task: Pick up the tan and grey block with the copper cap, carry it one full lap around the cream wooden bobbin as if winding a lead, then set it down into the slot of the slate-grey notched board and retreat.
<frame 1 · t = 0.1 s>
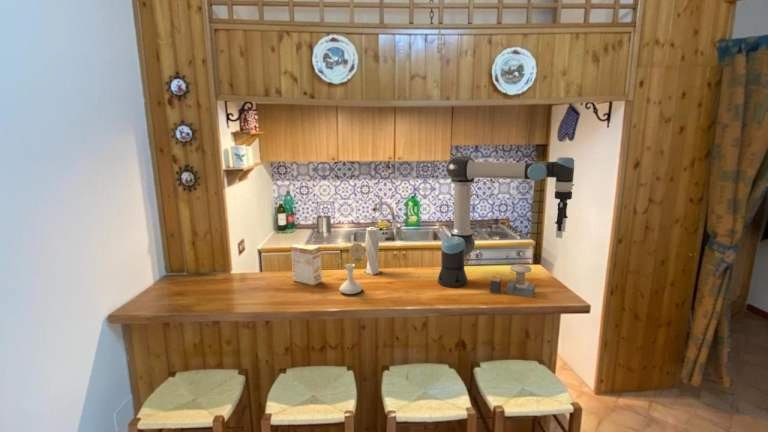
hand: (560, 234, 198), 28 cm above the countertop, fingers open, 13 cm apart
skyscraper: (373, 273, 232), on the countertop
tan and grey block: (495, 291, 201), on the countertop
notch board: (520, 292, 200), on the countertop
bobbin: (519, 285, 209), on the countertop
flower in vase: (352, 292, 204), on the countertop
coffeecake box: (307, 281, 220), on the countertop
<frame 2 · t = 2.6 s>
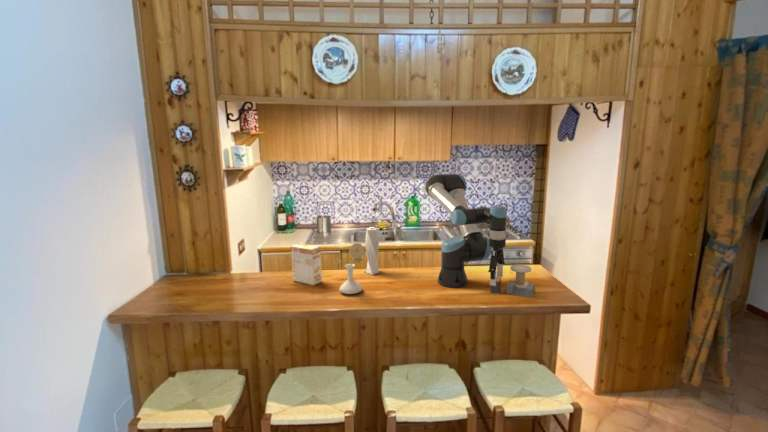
hand: (496, 281, 200), 6 cm above the countertop, fingers open, 13 cm apart
nothing on the countertop moved.
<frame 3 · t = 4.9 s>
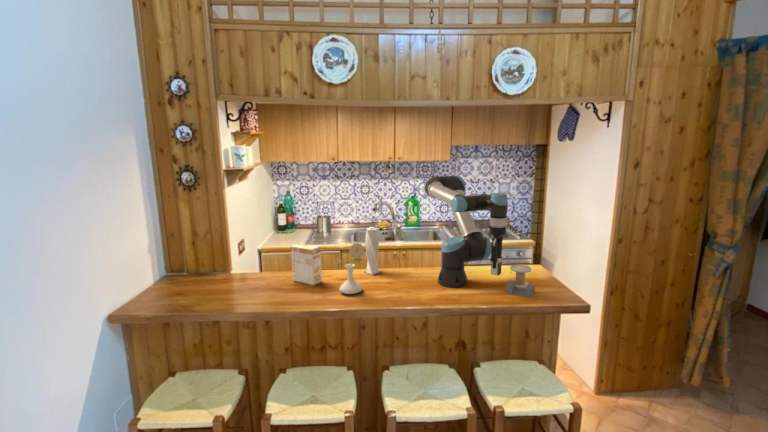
hand: (495, 272, 200), 10 cm above the countertop, fingers closed on tan and grey block, 4 cm apart
tan and grey block: (496, 273, 200), point 9 cm above the countertop, touching gripper
everything else where it was.
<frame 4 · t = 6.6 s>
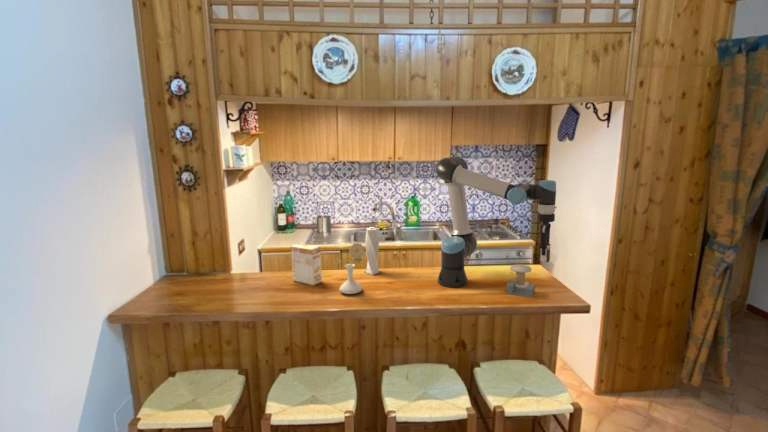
hand: (544, 260, 200), 15 cm above the countertop, fingers closed on tan and grey block, 4 cm apart
tan and grey block: (544, 260, 200), point 15 cm above the countertop, touching gripper
everything else where it was.
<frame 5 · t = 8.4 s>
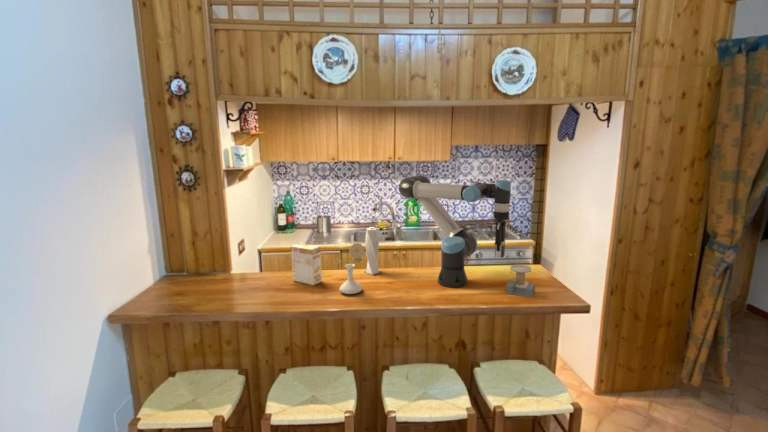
hand: (499, 255, 212), 14 cm above the countertop, fingers closed on tan and grey block, 4 cm apart
tan and grey block: (499, 256, 212), point 14 cm above the countertop, touching gripper
everything else where it was.
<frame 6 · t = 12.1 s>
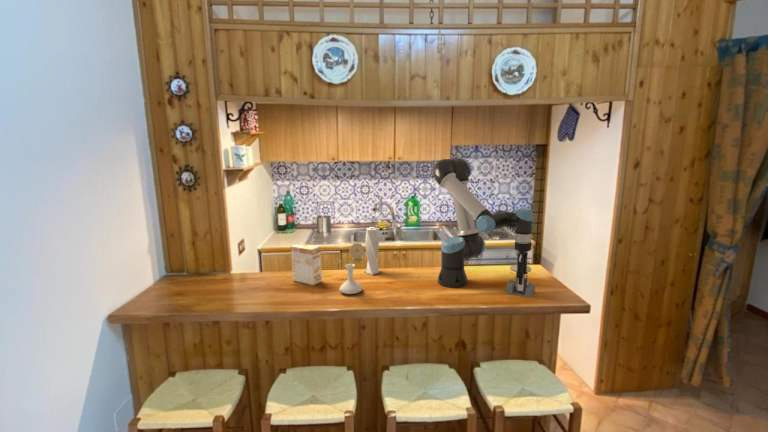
hand: (521, 288, 199), 2 cm above the countertop, fingers closed on tan and grey block, 4 cm apart
tan and grey block: (522, 289, 198), point 2 cm above the countertop, touching gripper
everything else where it was.
when the fingers open (2 cm above the countertop, at t = 12.3 s): tan and grey block drops 1 cm, resting on notch board.
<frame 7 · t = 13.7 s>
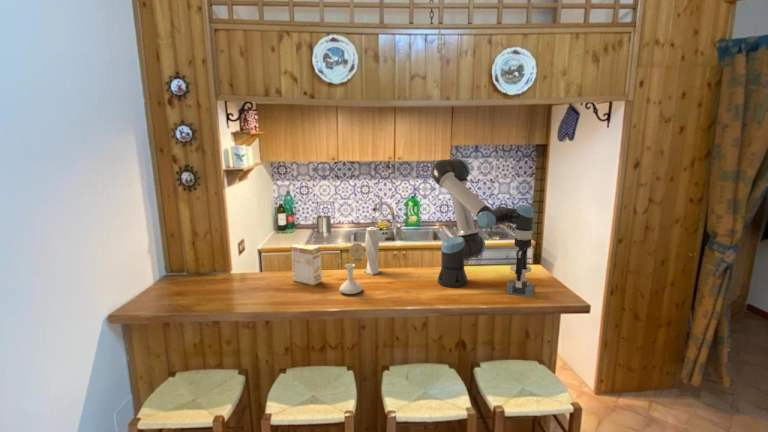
hand: (520, 284, 198), 4 cm above the countertop, fingers open, 7 cm apart
tan and grey block: (521, 292, 199), point 1 cm above the countertop, touching notch board
everything else where it was.
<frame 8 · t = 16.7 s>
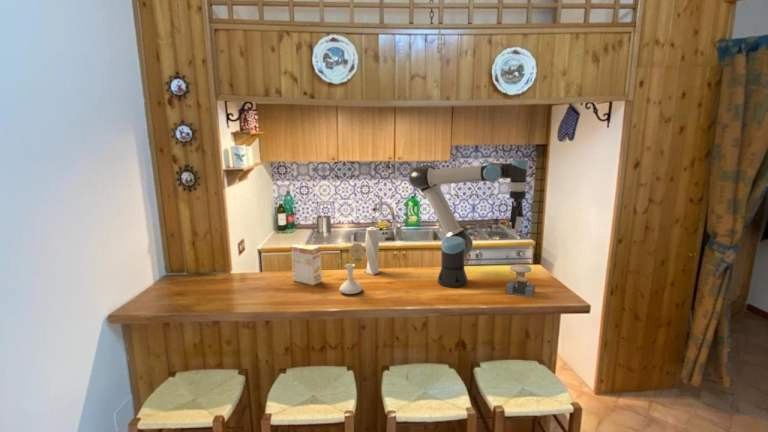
hand: (515, 231, 209), 27 cm above the countertop, fingers open, 13 cm apart
nothing on the countertop moved.
at the end: tan and grey block 0.9 cm off-centre on the notch board, point 0.6 cm above the notch board's base; tan and grey block tilted 0°; the gripper is holding nothing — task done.
